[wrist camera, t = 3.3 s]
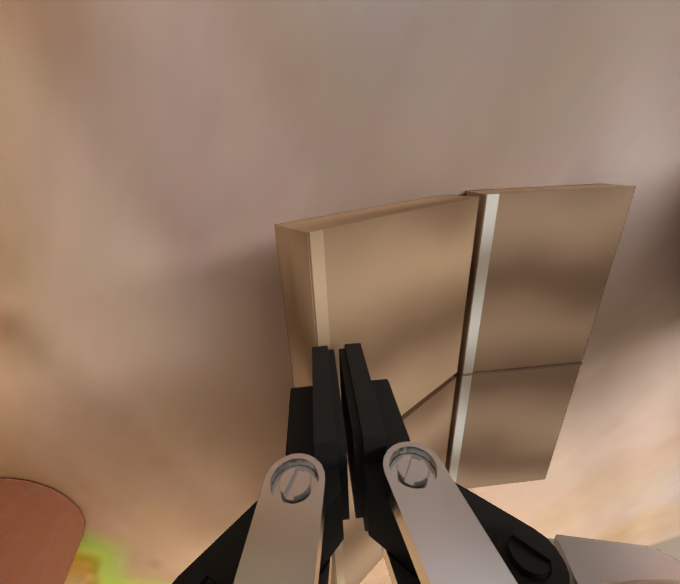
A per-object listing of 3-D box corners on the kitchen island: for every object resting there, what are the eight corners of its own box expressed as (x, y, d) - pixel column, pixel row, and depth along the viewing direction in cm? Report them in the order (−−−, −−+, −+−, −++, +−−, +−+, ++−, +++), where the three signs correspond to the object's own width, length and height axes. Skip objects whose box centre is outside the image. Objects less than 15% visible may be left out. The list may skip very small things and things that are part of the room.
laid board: (466, 190, 17) (486, 194, 15) (601, 183, 17) (637, 186, 15) (435, 466, 25) (446, 491, 23) (528, 456, 26) (545, 479, 24)
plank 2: (301, 452, 15) (328, 482, 13) (429, 363, 21) (457, 378, 19) (317, 576, 19) (338, 609, 17) (420, 472, 24) (442, 491, 23)
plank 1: (274, 224, 11) (308, 232, 9) (444, 194, 16) (480, 197, 15) (301, 446, 15) (327, 475, 13) (430, 358, 20) (457, 372, 19)
